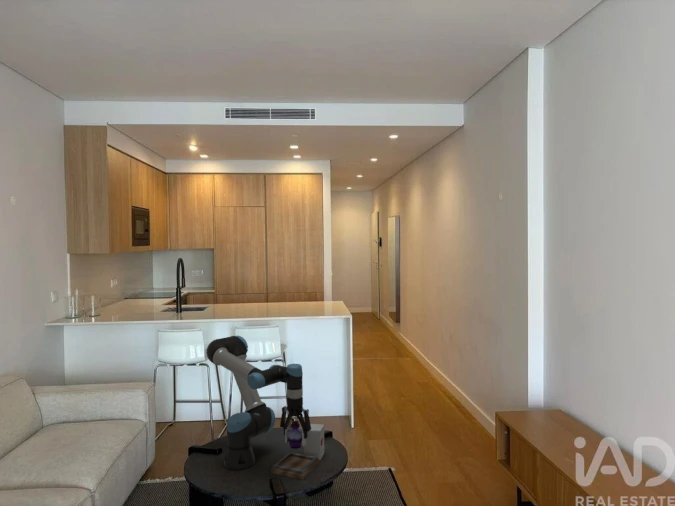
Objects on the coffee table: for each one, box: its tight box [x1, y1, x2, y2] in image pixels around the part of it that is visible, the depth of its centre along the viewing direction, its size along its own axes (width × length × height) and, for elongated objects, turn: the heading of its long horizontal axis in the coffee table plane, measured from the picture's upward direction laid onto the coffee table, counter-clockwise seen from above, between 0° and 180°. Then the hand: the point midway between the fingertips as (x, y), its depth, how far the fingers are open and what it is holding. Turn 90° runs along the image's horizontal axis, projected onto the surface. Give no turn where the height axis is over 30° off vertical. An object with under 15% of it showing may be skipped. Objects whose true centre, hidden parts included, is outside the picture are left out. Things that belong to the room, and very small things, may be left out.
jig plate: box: [270, 451, 321, 481], centre depth 224 cm, size 17×18×3 cm
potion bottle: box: [287, 420, 303, 450], centre depth 224 cm, size 9×9×12 cm
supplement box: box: [303, 423, 325, 461], centre depth 237 cm, size 9×9×15 cm
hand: (295, 443), depth 224 cm, fingers closed on potion bottle, 9 cm apart
